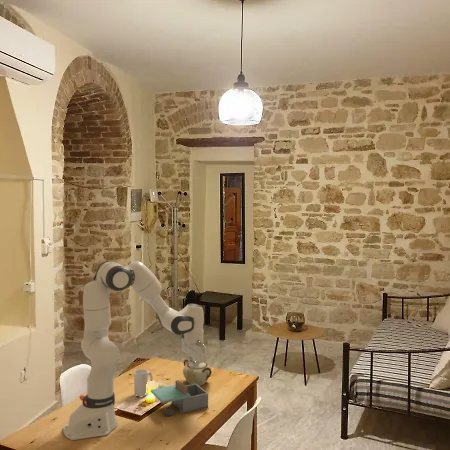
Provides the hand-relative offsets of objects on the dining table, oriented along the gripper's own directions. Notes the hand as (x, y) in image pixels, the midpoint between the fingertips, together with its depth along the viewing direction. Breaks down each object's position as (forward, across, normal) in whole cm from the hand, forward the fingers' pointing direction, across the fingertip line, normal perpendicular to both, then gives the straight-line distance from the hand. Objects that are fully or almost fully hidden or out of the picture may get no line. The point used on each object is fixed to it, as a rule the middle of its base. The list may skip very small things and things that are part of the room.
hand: (193, 365), depth 231 cm
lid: (+12, 0, +12) cm, 17 cm away
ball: (+19, -5, +15) cm, 25 cm away
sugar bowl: (+19, +22, -13) cm, 32 cm away
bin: (+19, 0, +2) cm, 19 cm away
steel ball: (+2, 0, 0) cm, 2 cm away
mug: (+19, +22, +17) cm, 34 cm away
